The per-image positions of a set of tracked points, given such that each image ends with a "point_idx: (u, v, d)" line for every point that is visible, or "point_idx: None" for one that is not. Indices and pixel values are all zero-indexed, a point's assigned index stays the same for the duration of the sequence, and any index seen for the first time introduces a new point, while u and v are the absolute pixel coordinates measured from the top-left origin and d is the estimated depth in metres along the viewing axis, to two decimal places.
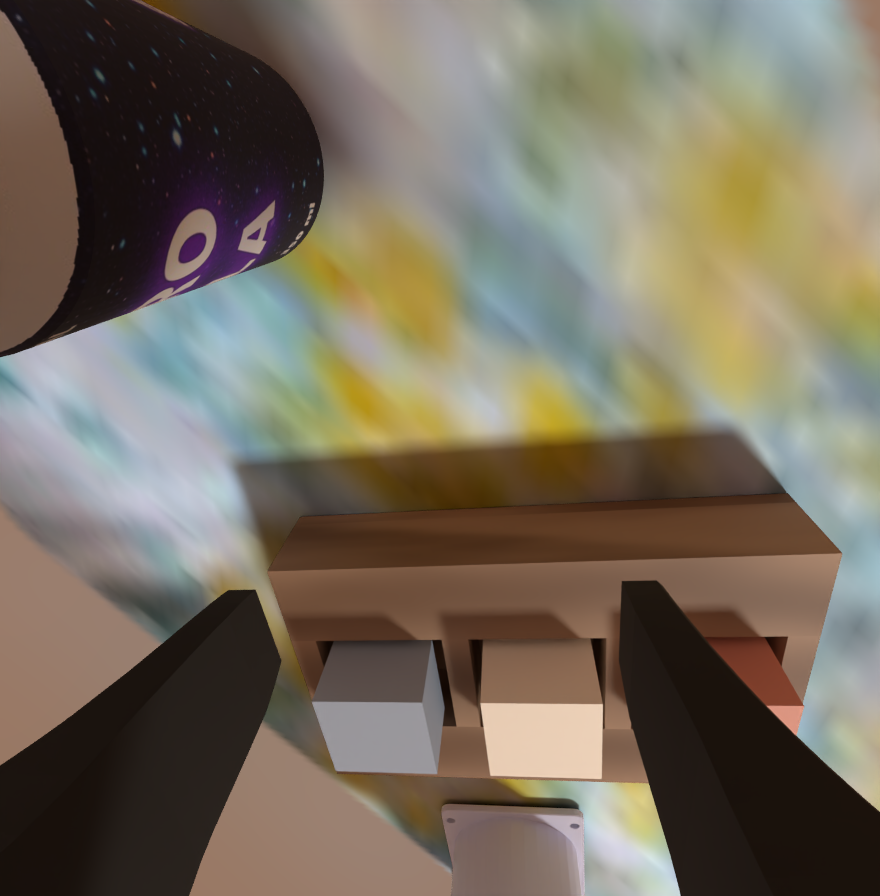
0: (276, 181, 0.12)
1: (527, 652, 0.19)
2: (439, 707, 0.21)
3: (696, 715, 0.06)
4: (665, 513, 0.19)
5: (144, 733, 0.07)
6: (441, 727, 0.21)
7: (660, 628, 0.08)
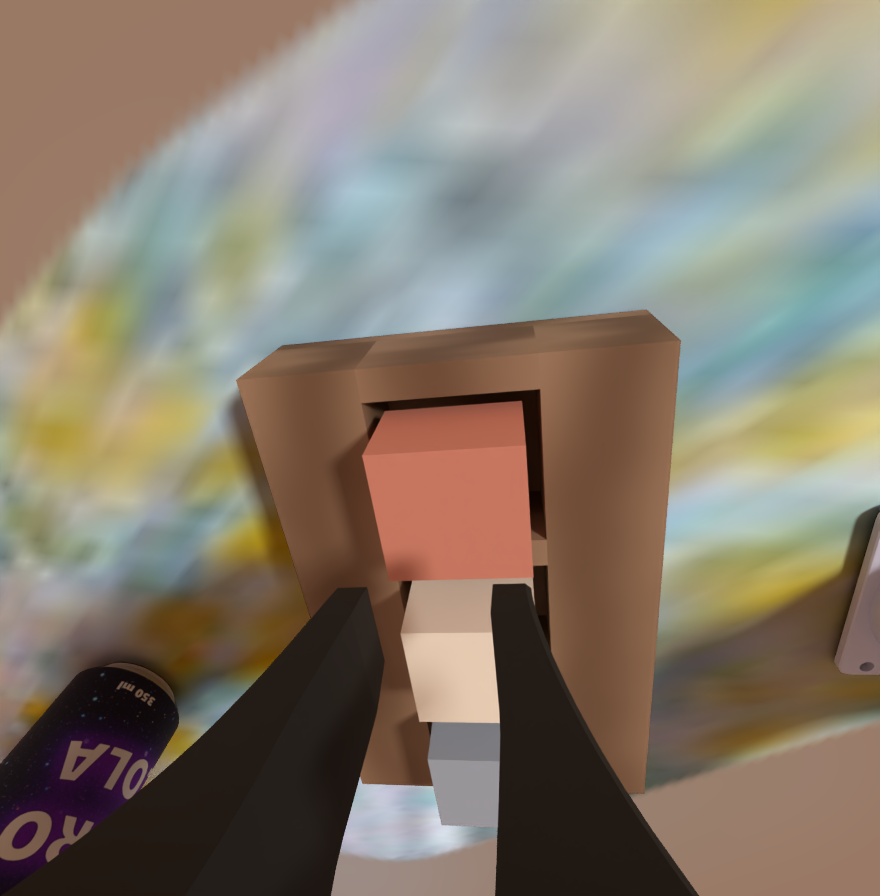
0: (62, 738, 0.22)
1: None
2: None
3: (506, 712, 0.07)
4: None
5: (296, 736, 0.07)
6: None
7: (506, 630, 0.08)
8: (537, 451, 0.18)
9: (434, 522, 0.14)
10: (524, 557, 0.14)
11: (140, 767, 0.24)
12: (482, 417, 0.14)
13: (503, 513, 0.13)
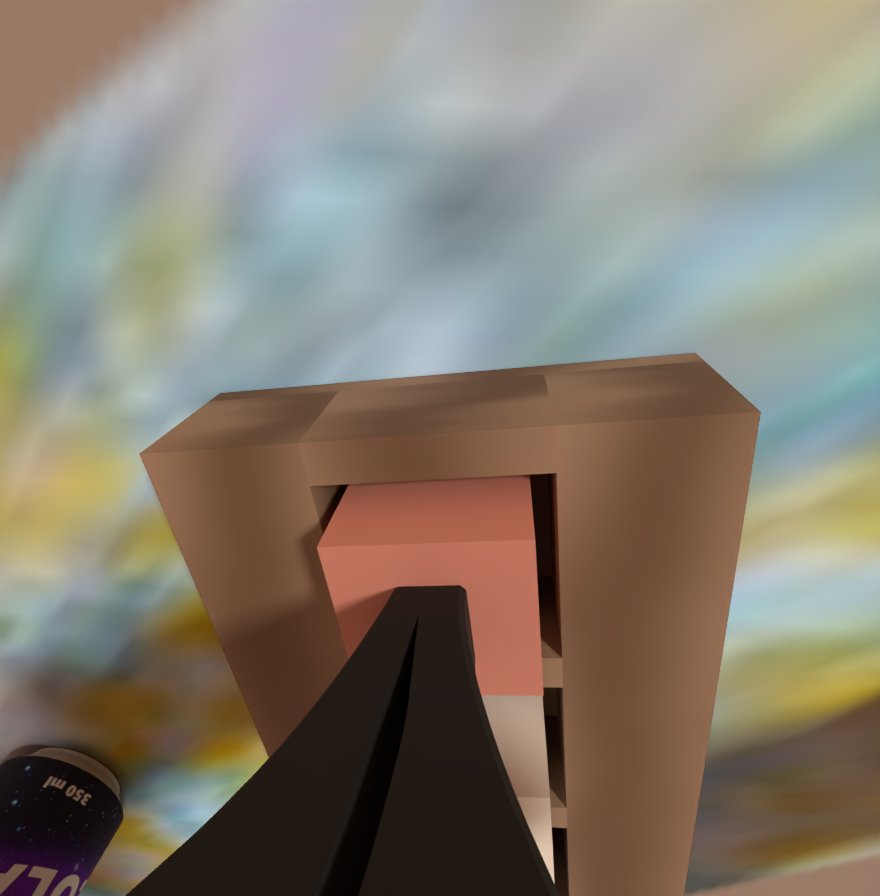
0: None
1: None
2: None
3: (414, 711, 0.07)
4: None
5: (382, 738, 0.07)
6: None
7: (430, 630, 0.08)
8: (548, 529, 0.14)
9: None
10: (532, 672, 0.11)
11: (68, 886, 0.20)
12: (477, 488, 0.11)
13: (504, 619, 0.10)
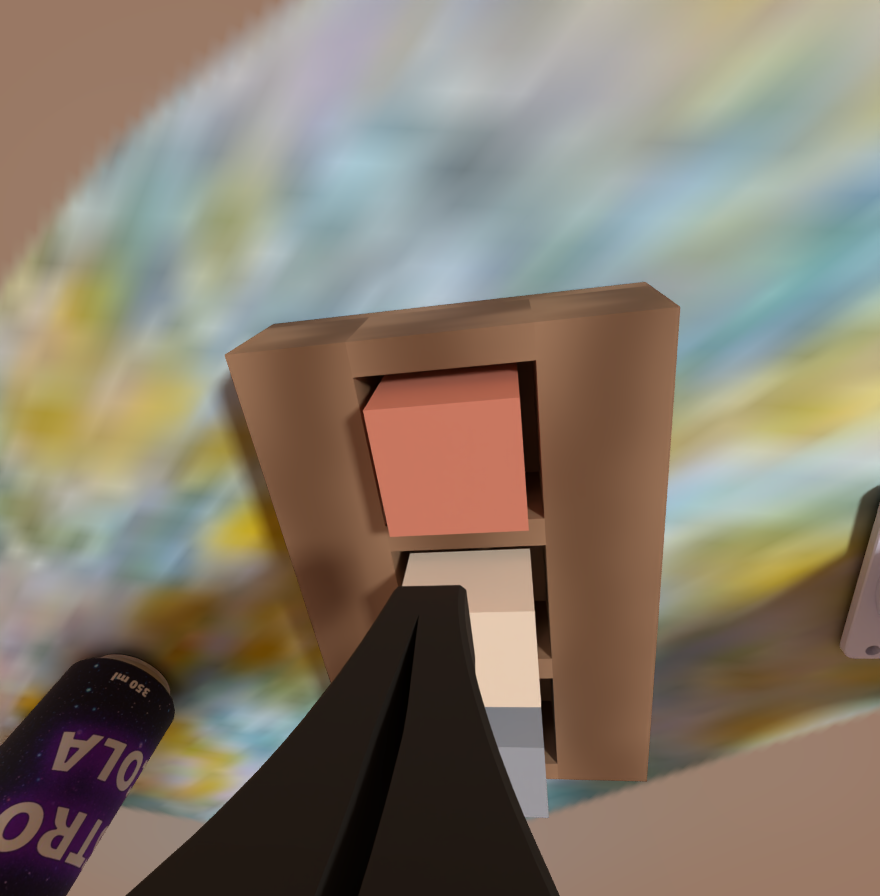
0: (55, 728, 0.22)
1: None
2: None
3: (414, 711, 0.07)
4: None
5: (382, 738, 0.07)
6: None
7: (430, 631, 0.08)
8: (534, 430, 0.18)
9: (432, 476, 0.14)
10: (519, 510, 0.14)
11: (135, 759, 0.24)
12: (478, 377, 0.15)
13: (498, 465, 0.14)
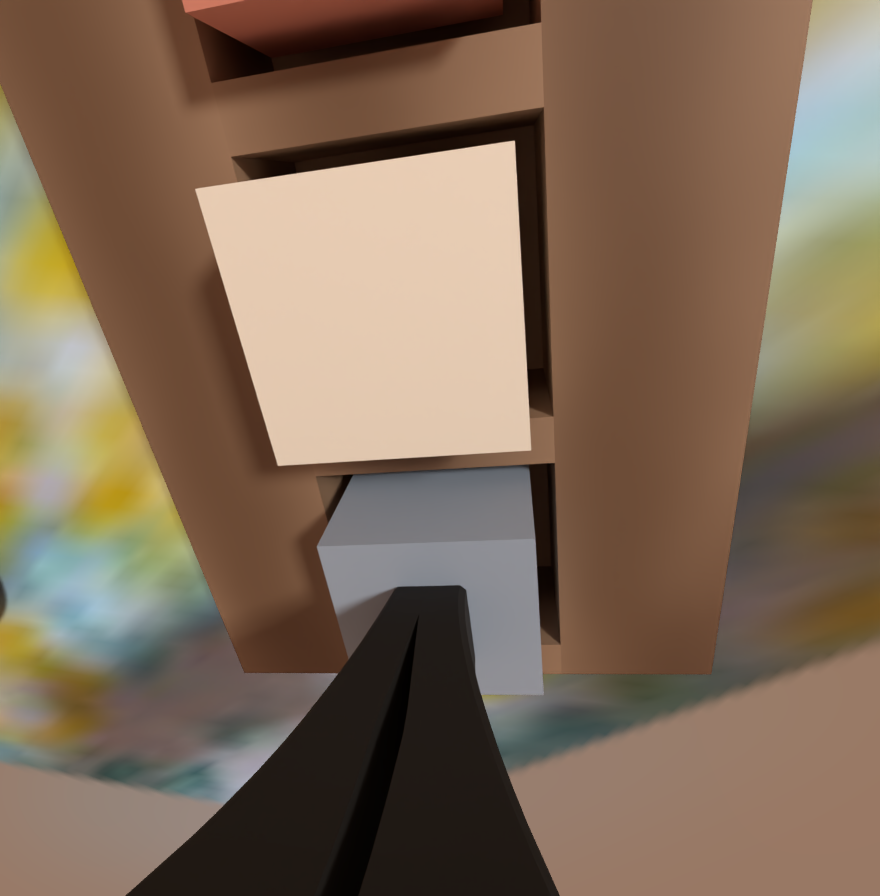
0: None
1: None
2: (478, 482, 0.11)
3: (413, 711, 0.07)
4: None
5: (382, 738, 0.07)
6: (522, 486, 0.11)
7: (430, 630, 0.08)
8: None
9: None
10: None
11: None
12: None
13: None
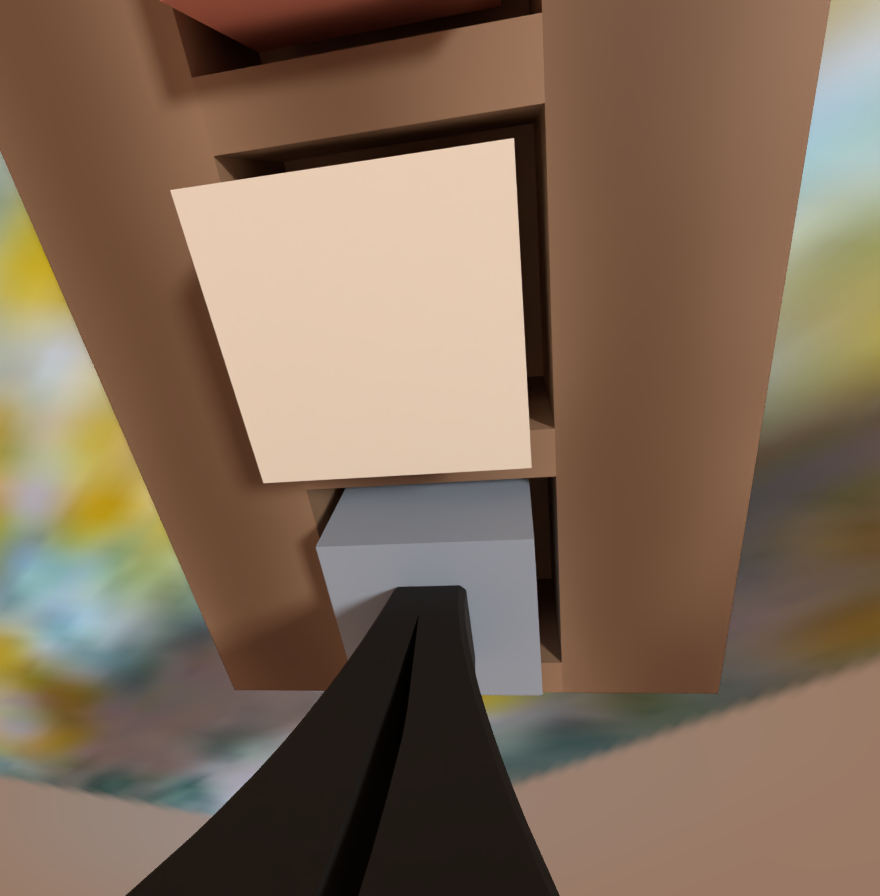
0: None
1: None
2: (477, 482, 0.11)
3: (413, 711, 0.07)
4: None
5: (382, 738, 0.07)
6: (521, 486, 0.11)
7: (430, 630, 0.08)
8: None
9: None
10: None
11: None
12: None
13: None
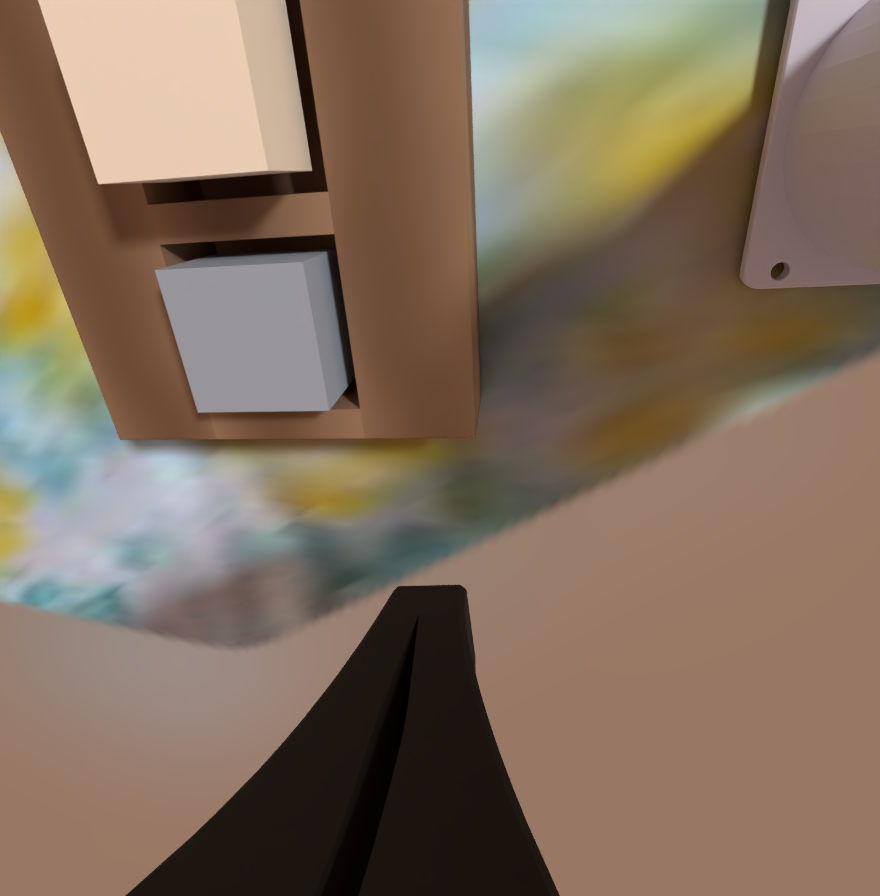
0: None
1: None
2: (291, 253, 0.15)
3: (414, 711, 0.07)
4: None
5: (382, 738, 0.07)
6: (319, 252, 0.15)
7: (430, 631, 0.08)
8: None
9: None
10: None
11: None
12: None
13: None
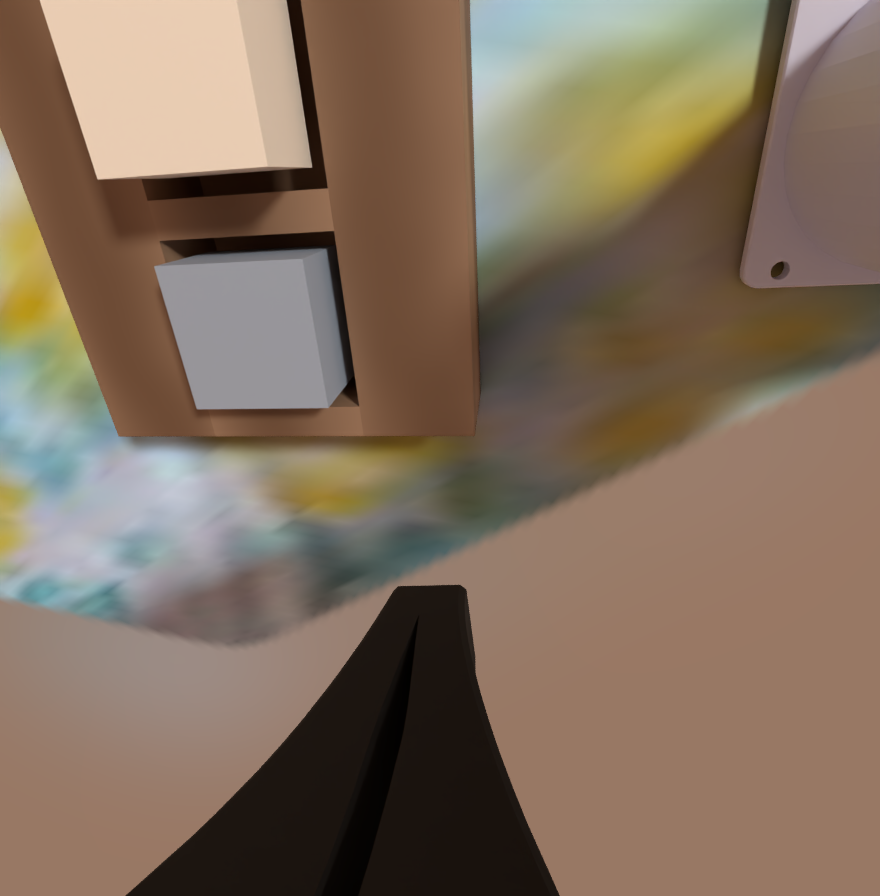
0: None
1: None
2: (291, 250, 0.15)
3: (414, 711, 0.07)
4: None
5: (382, 738, 0.07)
6: (319, 249, 0.14)
7: (430, 630, 0.08)
8: None
9: None
10: None
11: None
12: None
13: None
